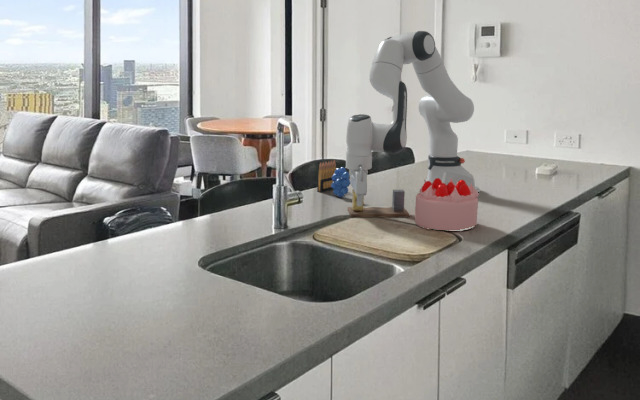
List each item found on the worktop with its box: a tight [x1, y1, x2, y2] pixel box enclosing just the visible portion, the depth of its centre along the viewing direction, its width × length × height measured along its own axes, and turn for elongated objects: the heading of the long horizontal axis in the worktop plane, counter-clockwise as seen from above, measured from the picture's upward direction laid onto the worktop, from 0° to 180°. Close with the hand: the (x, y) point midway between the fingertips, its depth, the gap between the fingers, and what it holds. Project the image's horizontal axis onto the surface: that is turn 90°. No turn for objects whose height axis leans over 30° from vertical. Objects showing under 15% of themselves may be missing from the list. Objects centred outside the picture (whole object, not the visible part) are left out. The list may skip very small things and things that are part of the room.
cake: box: [414, 178, 480, 231], centre depth 209 cm, size 20×20×14 cm
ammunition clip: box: [316, 159, 337, 193], centre depth 263 cm, size 11×2×12 cm, turn 140°
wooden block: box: [351, 188, 365, 210], centre depth 223 cm, size 4×4×7 cm
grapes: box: [331, 166, 351, 199], centre depth 249 cm, size 12×7×12 cm, turn 31°
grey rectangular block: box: [391, 189, 406, 212], centre depth 224 cm, size 4×4×7 cm
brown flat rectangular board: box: [347, 206, 410, 218], centre depth 224 cm, size 20×11×1 cm, turn 93°
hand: (357, 202), depth 223 cm, fingers open, 8 cm apart
